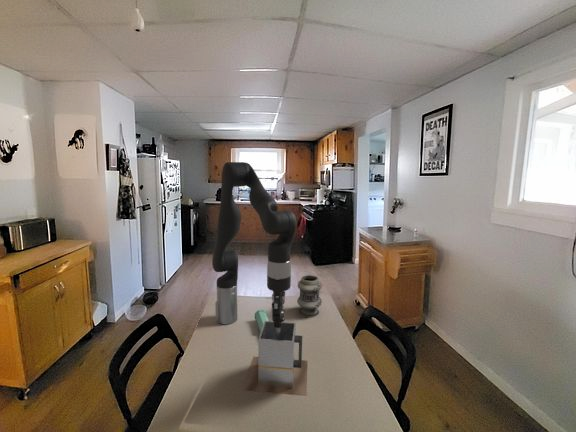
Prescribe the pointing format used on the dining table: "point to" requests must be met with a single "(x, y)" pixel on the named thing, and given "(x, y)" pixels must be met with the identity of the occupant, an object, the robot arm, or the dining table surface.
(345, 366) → the dining table surface
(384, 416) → the dining table surface
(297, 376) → the walnut board
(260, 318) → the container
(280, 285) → the robot arm
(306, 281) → the apothecary jar
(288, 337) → the square mug
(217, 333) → the dining table surface
